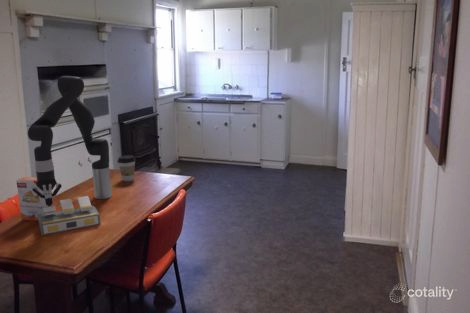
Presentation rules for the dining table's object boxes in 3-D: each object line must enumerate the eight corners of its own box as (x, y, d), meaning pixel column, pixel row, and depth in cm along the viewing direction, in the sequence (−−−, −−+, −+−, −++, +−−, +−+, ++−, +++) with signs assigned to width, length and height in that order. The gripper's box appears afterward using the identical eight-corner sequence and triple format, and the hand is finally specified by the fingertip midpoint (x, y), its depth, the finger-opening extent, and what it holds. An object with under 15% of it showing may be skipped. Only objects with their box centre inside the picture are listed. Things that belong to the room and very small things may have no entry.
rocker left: (43, 213, 216) (42, 208, 216) (54, 211, 218) (53, 206, 218) (44, 212, 208) (43, 207, 208) (55, 210, 210) (55, 205, 210)
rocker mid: (60, 203, 219) (60, 200, 218) (71, 201, 222) (70, 198, 221) (63, 214, 213) (63, 211, 212) (74, 213, 215) (74, 209, 214)
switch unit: (39, 225, 217) (37, 214, 216) (94, 215, 229) (93, 204, 227) (41, 235, 205) (40, 224, 204) (100, 224, 216) (99, 213, 215)
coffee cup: (116, 182, 286) (113, 158, 282) (123, 177, 297) (121, 154, 293) (133, 182, 284) (131, 159, 280) (139, 177, 295) (138, 154, 291)
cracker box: (21, 220, 224) (15, 179, 219) (28, 216, 229) (23, 176, 225) (46, 222, 221) (41, 180, 216) (53, 217, 227) (48, 177, 222)
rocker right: (77, 200, 223) (77, 197, 222) (88, 199, 225) (87, 195, 224) (81, 211, 216) (80, 208, 215) (91, 210, 219) (91, 206, 217)
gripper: (59, 165, 212) (63, 200, 216) (28, 169, 206) (33, 205, 210) (61, 169, 205) (65, 205, 209) (29, 173, 199) (34, 210, 203)
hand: (49, 205), depth 209 cm, fingers closed
